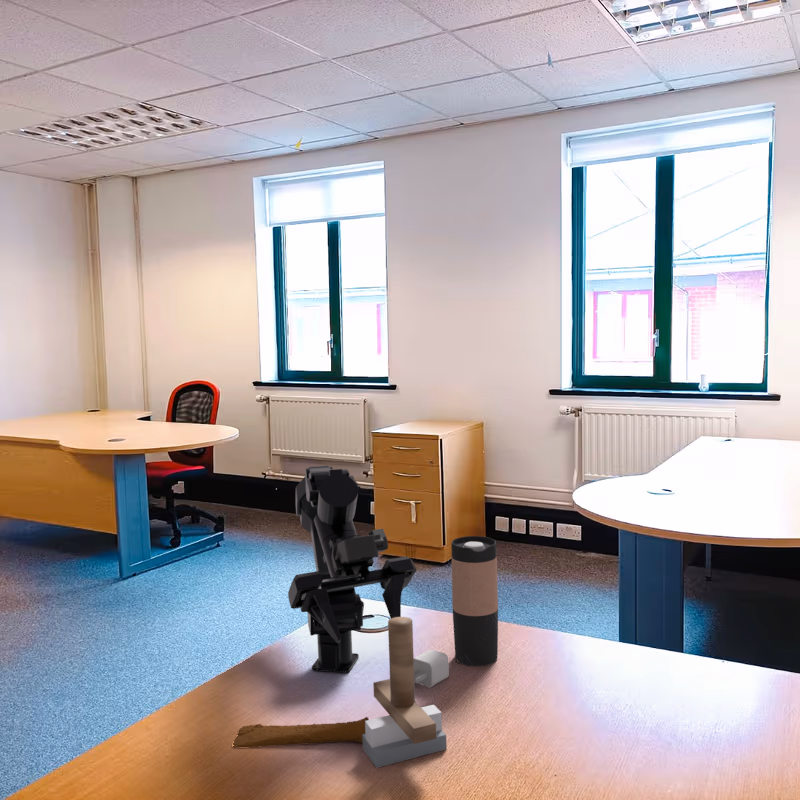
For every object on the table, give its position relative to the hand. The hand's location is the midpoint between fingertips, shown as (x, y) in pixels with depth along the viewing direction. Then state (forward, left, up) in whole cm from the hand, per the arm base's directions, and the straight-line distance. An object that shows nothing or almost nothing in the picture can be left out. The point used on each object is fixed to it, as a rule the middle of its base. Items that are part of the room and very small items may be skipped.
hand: (369, 635), depth 110 cm
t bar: (+7, +6, -8) cm, 12 cm away
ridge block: (+7, +6, -12) cm, 16 cm away
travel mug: (-23, +12, -13) cm, 29 cm away
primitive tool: (+7, -8, -13) cm, 17 cm away
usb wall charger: (-12, +6, -13) cm, 18 cm away
